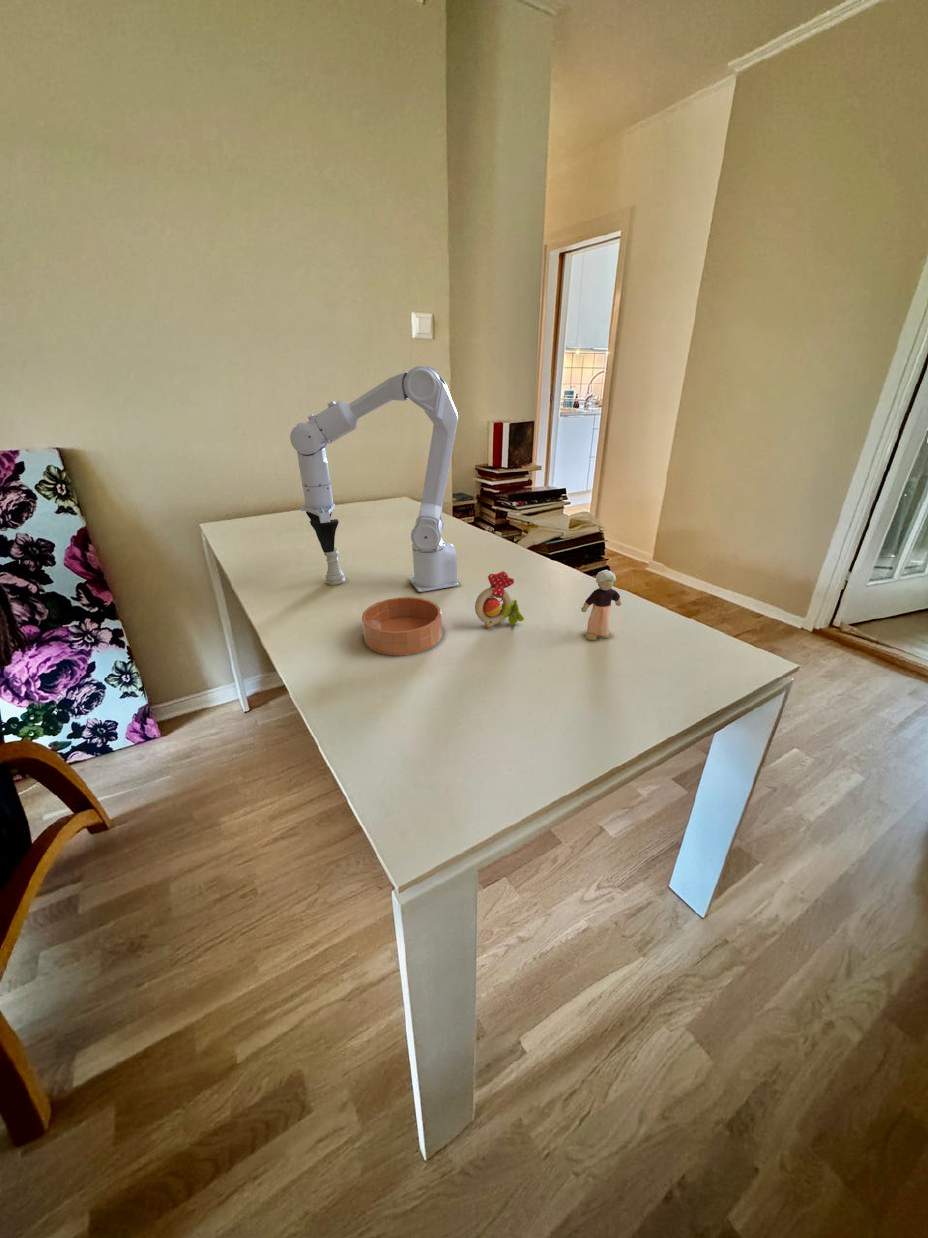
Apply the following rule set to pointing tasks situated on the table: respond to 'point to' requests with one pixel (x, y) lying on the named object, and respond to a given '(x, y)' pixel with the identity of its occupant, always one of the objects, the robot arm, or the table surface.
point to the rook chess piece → (334, 569)
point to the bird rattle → (497, 602)
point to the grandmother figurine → (601, 605)
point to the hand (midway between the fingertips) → (326, 546)
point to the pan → (402, 626)
